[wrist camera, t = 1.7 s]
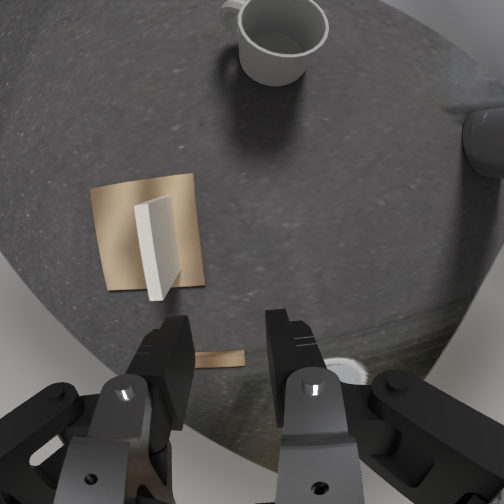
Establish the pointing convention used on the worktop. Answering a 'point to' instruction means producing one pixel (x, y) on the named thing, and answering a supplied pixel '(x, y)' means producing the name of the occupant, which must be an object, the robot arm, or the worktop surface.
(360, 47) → the worktop surface
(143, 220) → the tile
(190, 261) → the board
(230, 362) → the tan tapered flat part
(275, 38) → the cup
